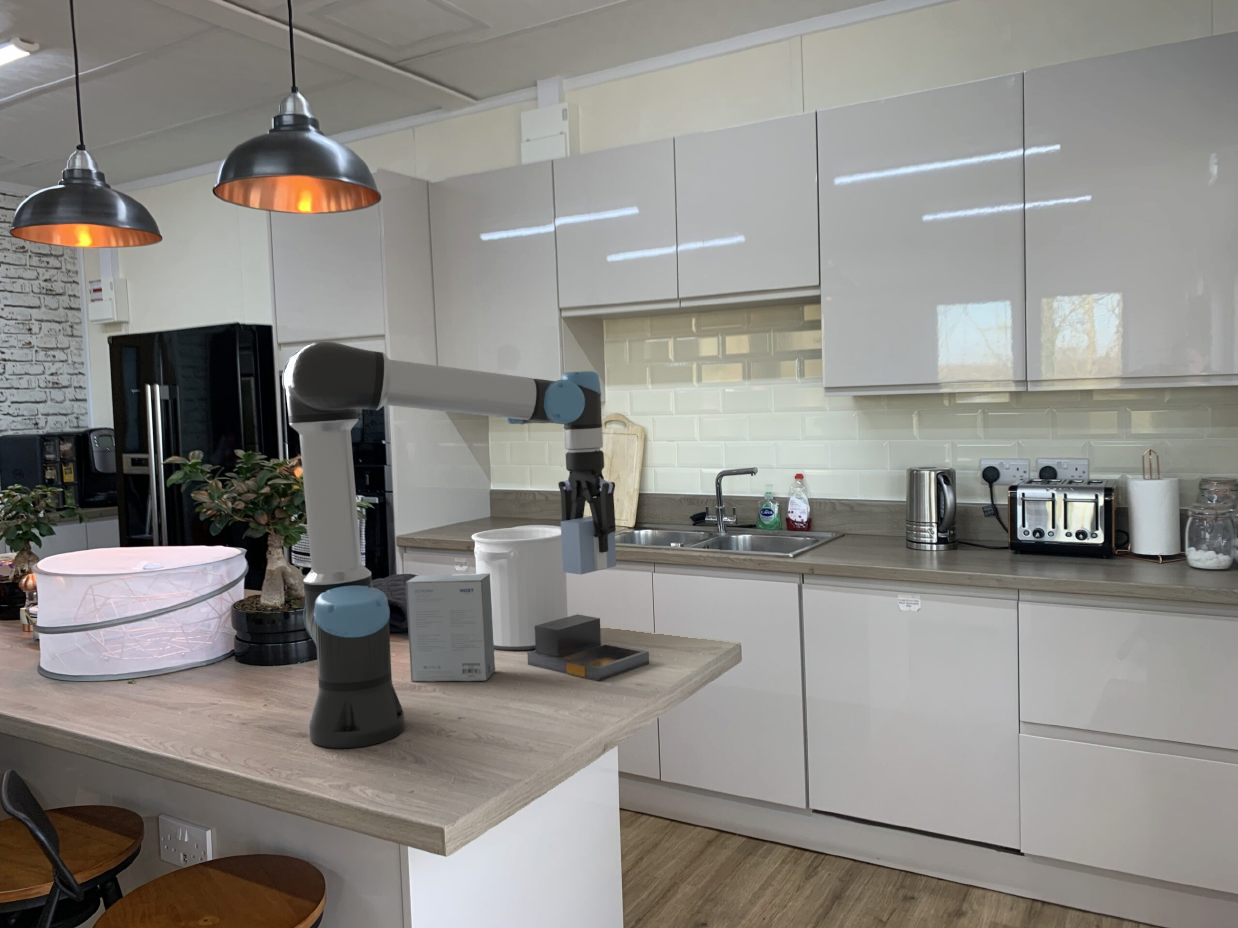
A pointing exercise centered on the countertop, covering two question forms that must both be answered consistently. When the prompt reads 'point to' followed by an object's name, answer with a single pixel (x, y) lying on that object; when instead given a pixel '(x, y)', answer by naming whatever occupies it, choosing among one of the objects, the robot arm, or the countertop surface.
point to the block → (582, 546)
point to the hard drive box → (450, 627)
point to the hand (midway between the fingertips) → (590, 567)
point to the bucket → (522, 581)
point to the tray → (581, 650)
